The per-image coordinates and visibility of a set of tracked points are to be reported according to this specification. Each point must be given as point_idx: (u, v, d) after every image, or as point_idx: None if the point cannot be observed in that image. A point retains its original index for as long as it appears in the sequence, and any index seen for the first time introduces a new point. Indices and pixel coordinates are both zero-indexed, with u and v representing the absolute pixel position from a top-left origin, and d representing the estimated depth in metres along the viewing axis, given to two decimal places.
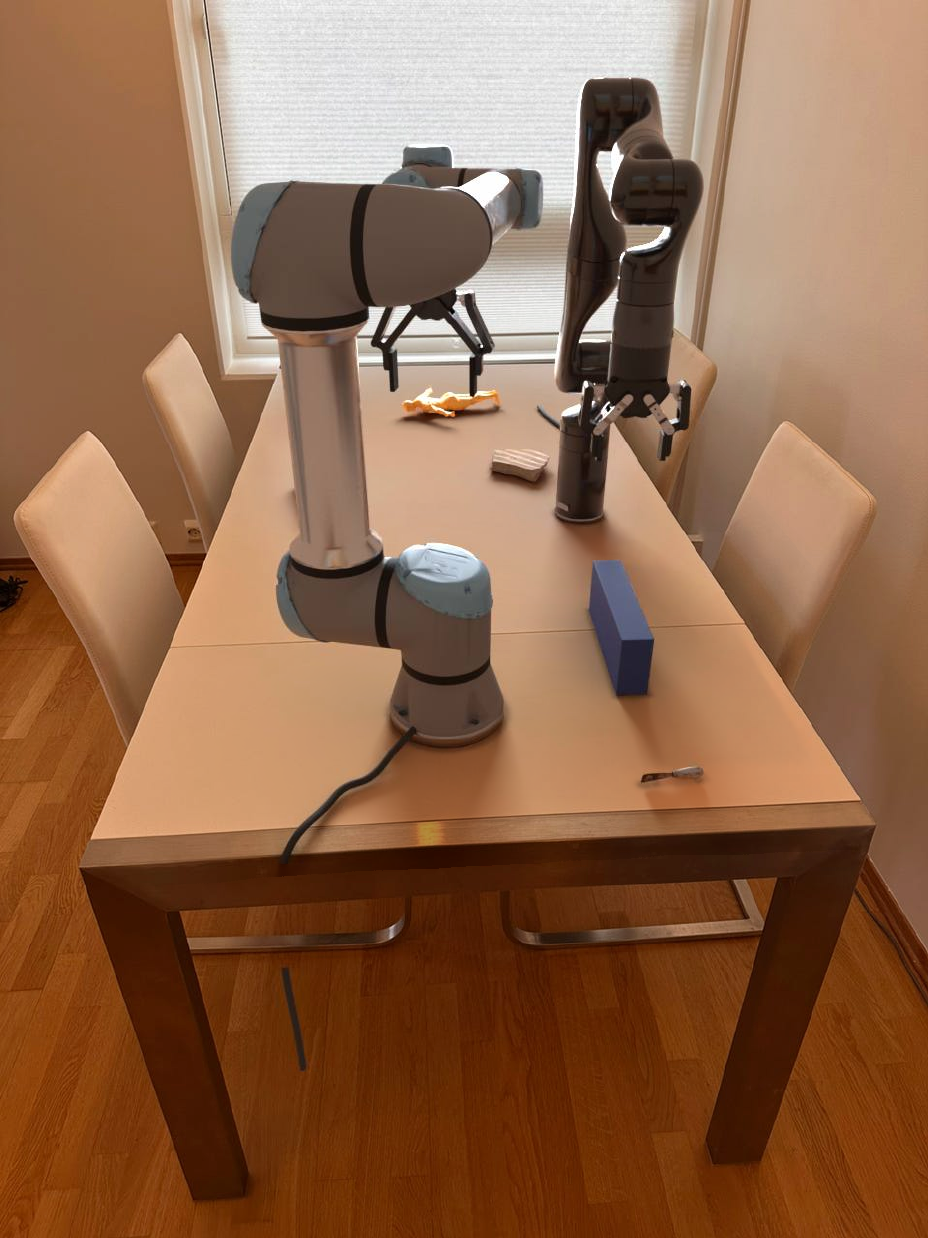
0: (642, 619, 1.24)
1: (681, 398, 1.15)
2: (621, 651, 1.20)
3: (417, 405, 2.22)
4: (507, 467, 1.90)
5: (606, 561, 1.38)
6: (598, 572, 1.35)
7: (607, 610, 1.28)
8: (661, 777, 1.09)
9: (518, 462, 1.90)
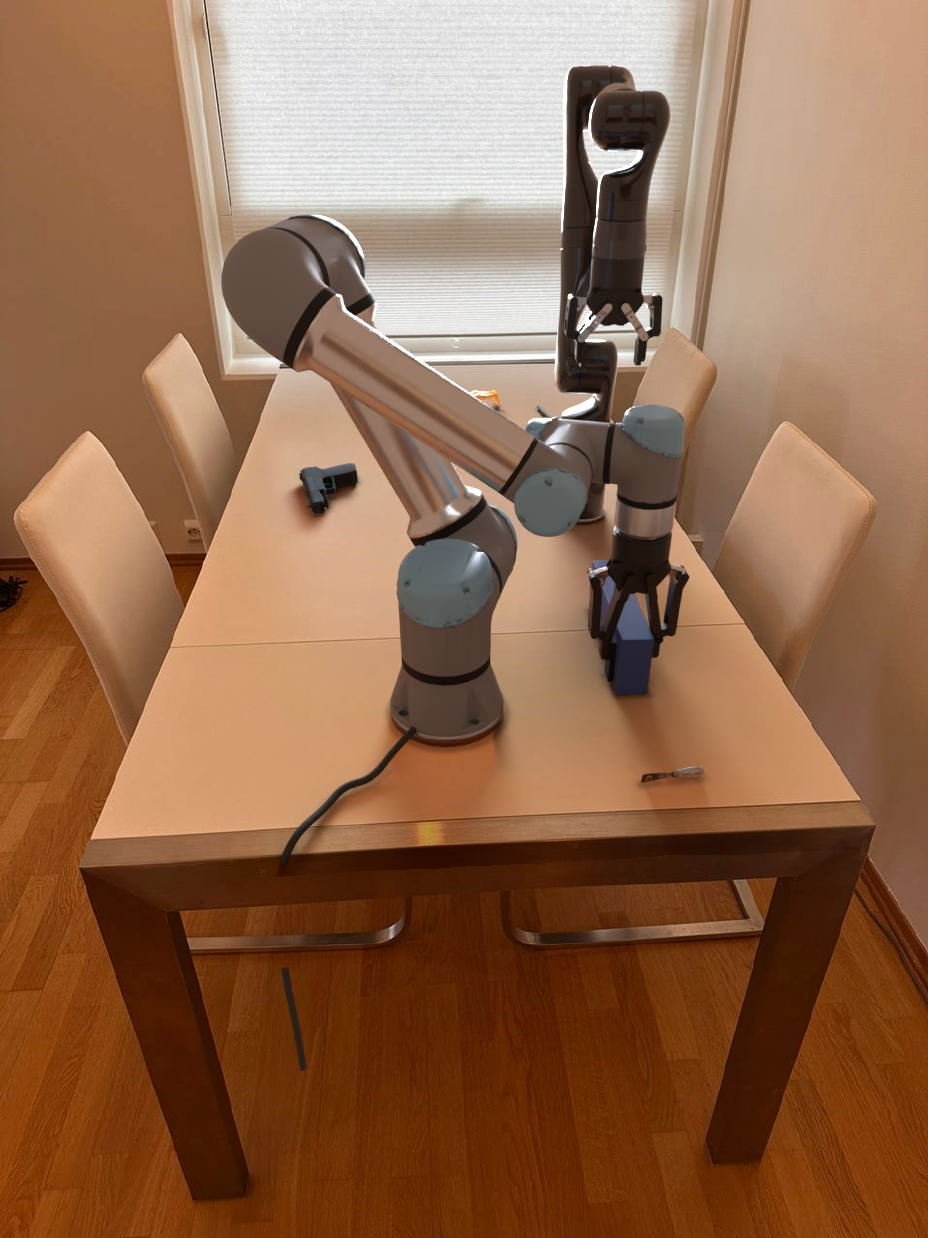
0: (642, 619, 1.24)
1: (654, 307, 1.31)
2: (621, 651, 1.20)
3: None
4: None
5: (606, 561, 1.38)
6: None
7: None
8: (661, 777, 1.09)
9: None
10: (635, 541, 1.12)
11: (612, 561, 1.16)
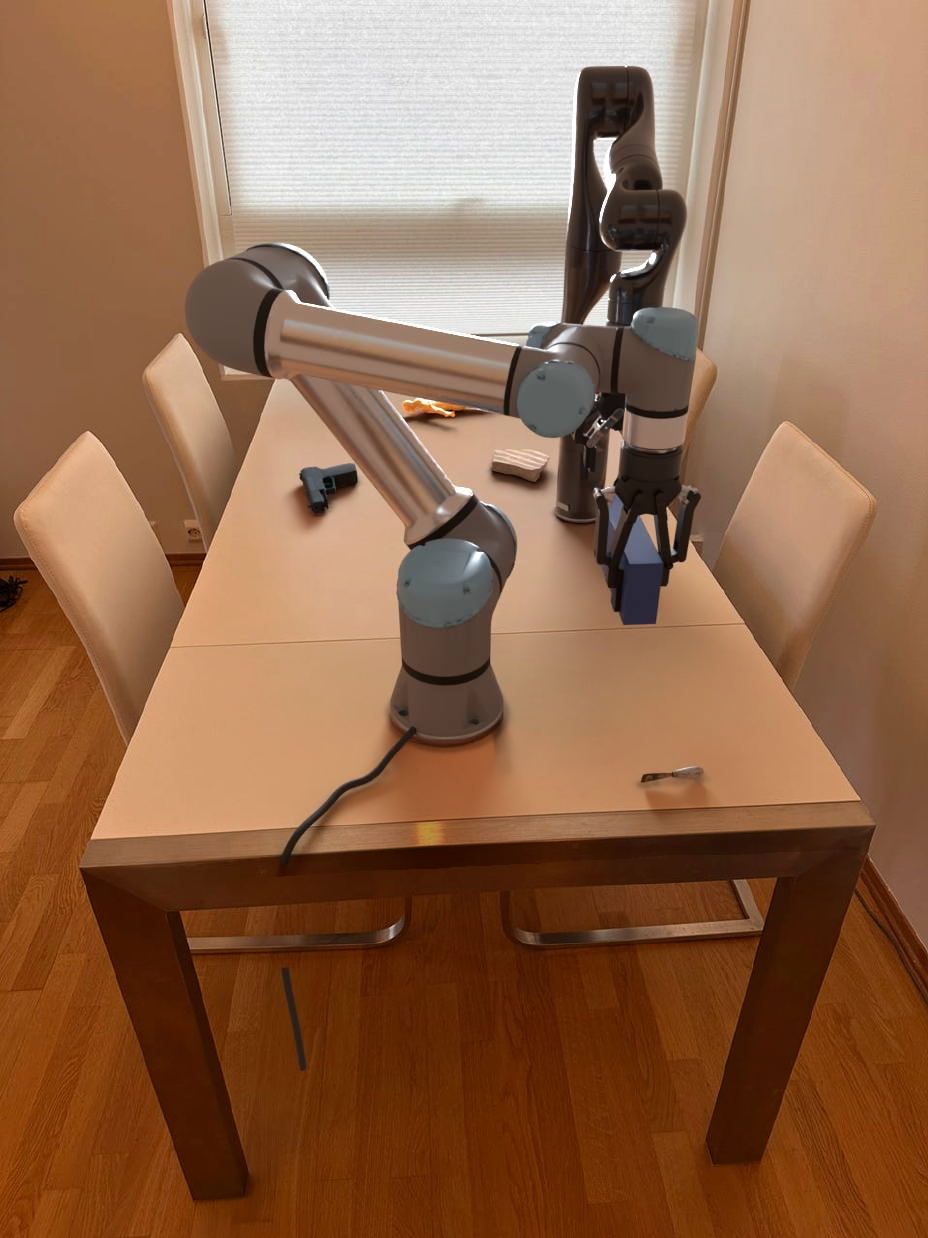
0: (650, 545, 1.17)
1: None
2: (629, 576, 1.14)
3: (417, 405, 2.22)
4: (507, 467, 1.90)
5: None
6: None
7: None
8: (661, 777, 1.09)
9: (518, 462, 1.90)
10: (644, 455, 1.06)
11: (620, 479, 1.10)
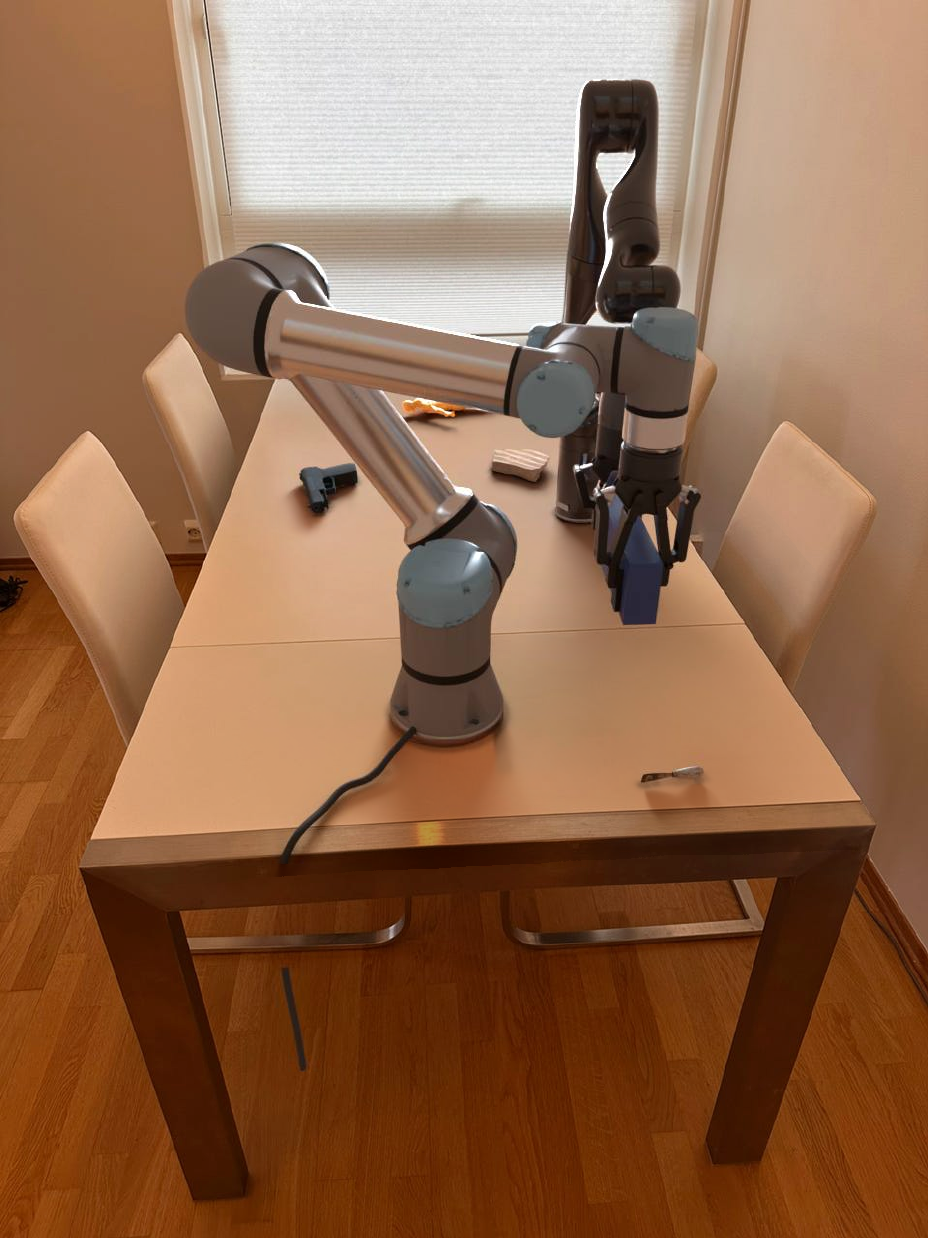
0: (651, 545, 1.17)
1: None
2: (628, 576, 1.14)
3: (417, 405, 2.22)
4: (507, 467, 1.90)
5: None
6: None
7: None
8: (661, 777, 1.09)
9: (518, 462, 1.90)
10: (644, 455, 1.06)
11: (620, 479, 1.10)
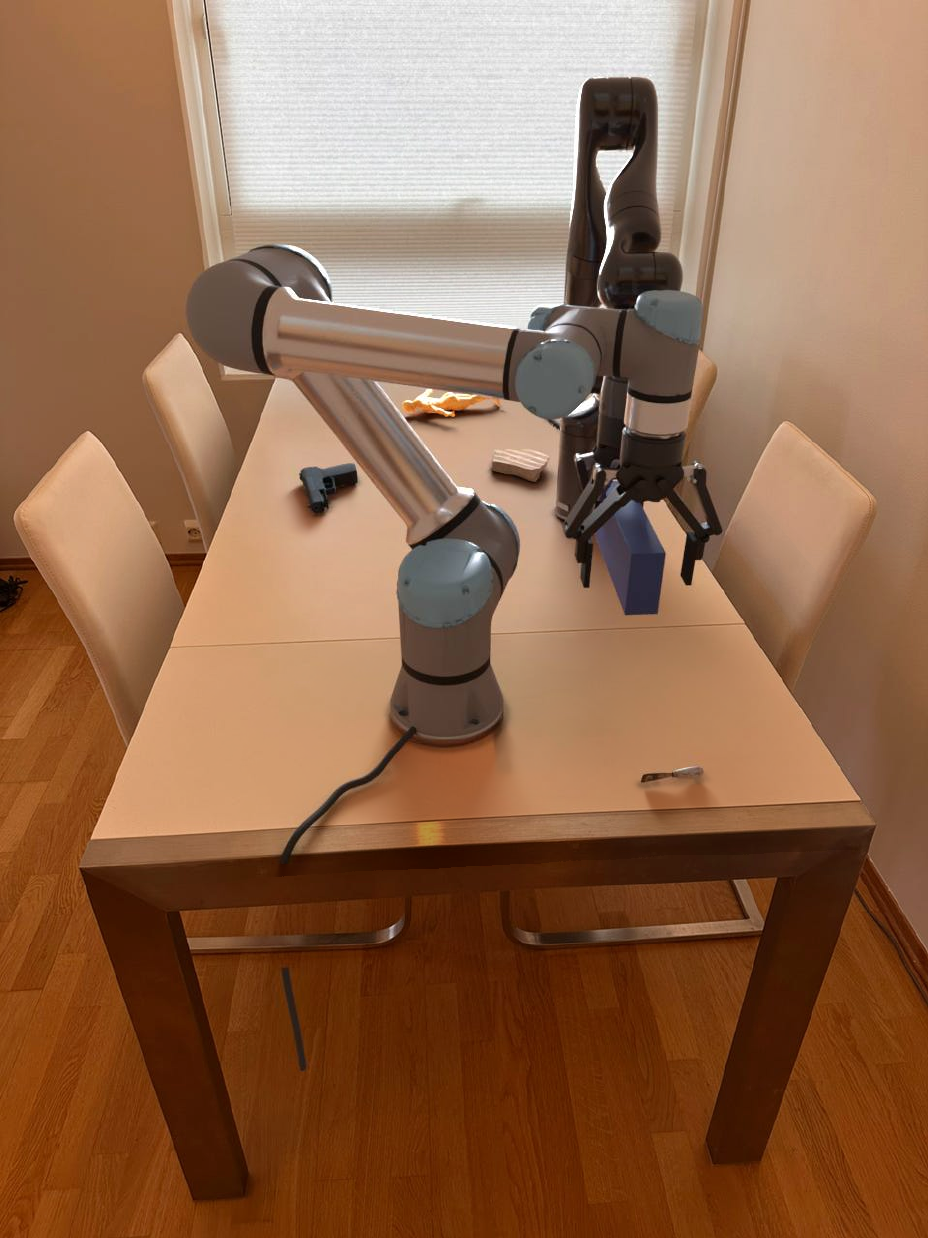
0: (652, 534, 1.17)
1: None
2: (630, 566, 1.13)
3: (417, 405, 2.22)
4: (507, 467, 1.90)
5: (614, 481, 1.31)
6: None
7: (615, 528, 1.21)
8: (661, 777, 1.09)
9: (518, 462, 1.90)
10: (646, 440, 1.05)
11: (621, 465, 1.09)
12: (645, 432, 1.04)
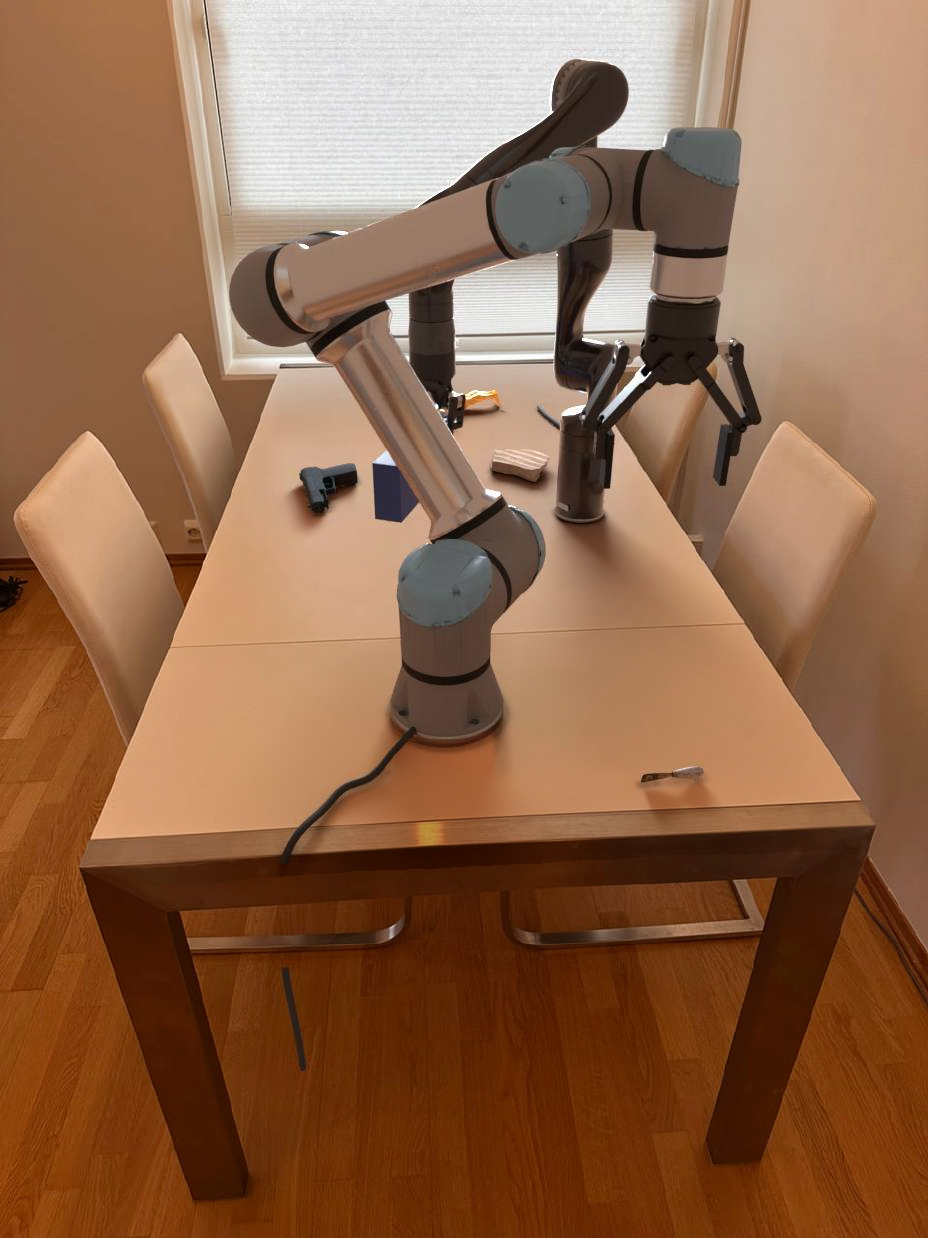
0: None
1: (449, 404, 1.43)
2: (373, 474, 1.34)
3: None
4: (507, 467, 1.90)
5: None
6: None
7: None
8: (661, 777, 1.09)
9: (518, 462, 1.90)
10: (676, 305, 0.91)
11: (647, 340, 0.95)
12: (674, 295, 0.91)
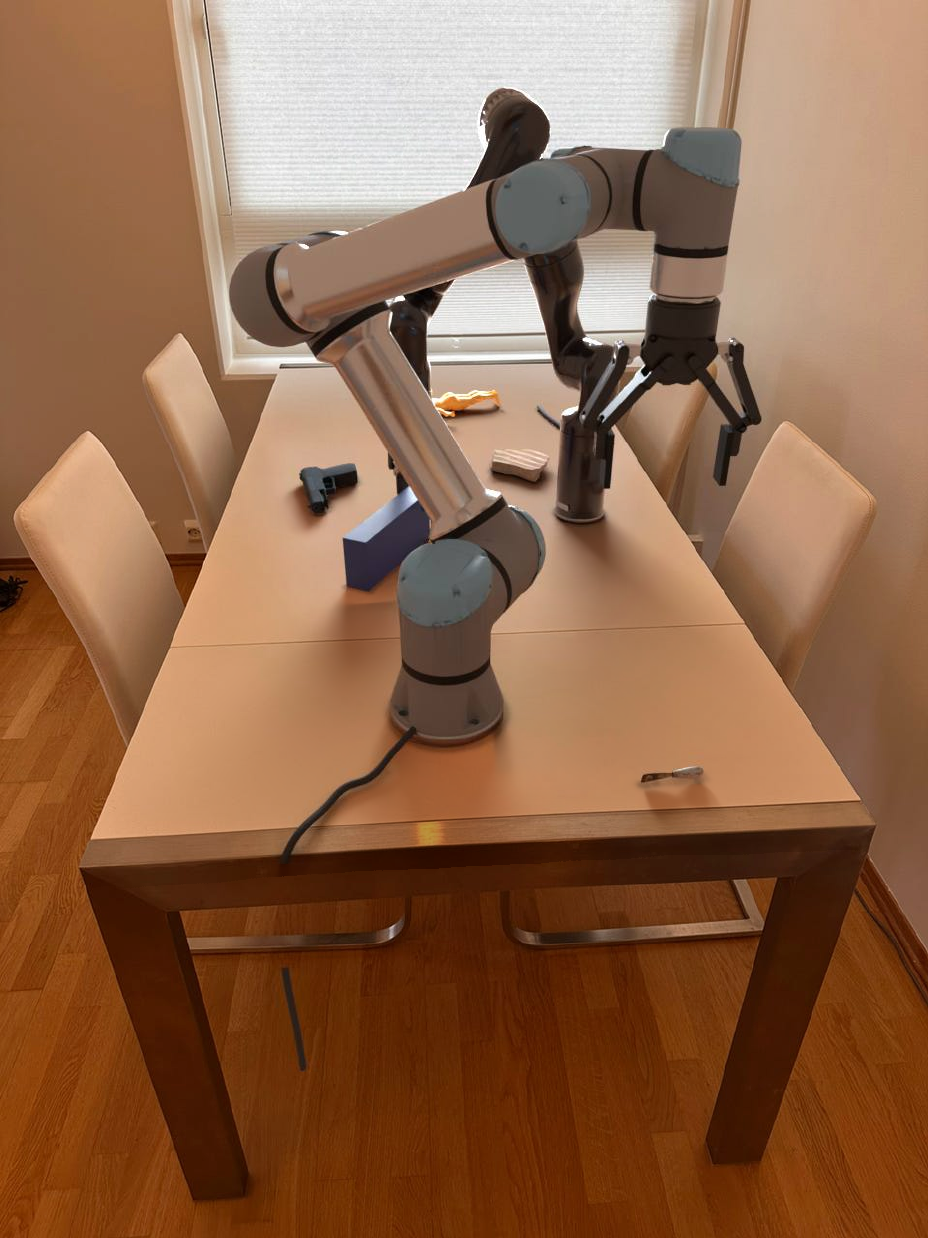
0: (378, 529, 1.48)
1: None
2: (343, 547, 1.46)
3: None
4: (507, 467, 1.90)
5: None
6: (398, 494, 1.60)
7: None
8: (661, 777, 1.09)
9: (518, 462, 1.90)
10: (676, 305, 0.91)
11: (647, 340, 0.95)
12: (674, 295, 0.91)
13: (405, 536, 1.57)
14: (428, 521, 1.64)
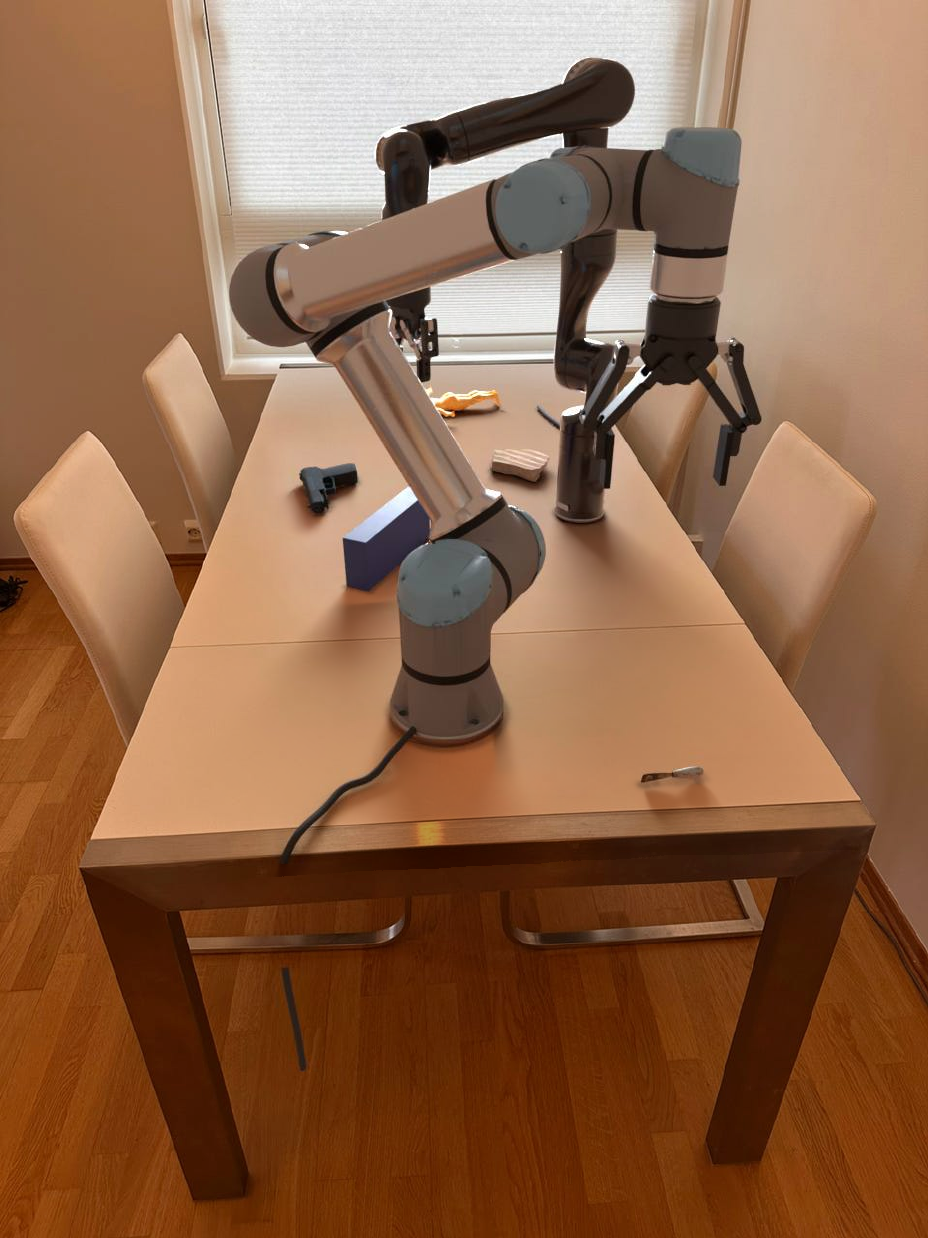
0: (378, 529, 1.48)
1: (420, 329, 1.40)
2: (343, 547, 1.46)
3: None
4: (507, 467, 1.90)
5: None
6: (398, 494, 1.60)
7: None
8: (661, 777, 1.09)
9: (518, 462, 1.90)
10: (676, 305, 0.91)
11: (647, 340, 0.95)
12: (674, 295, 0.91)
13: (405, 536, 1.57)
14: (428, 521, 1.64)
